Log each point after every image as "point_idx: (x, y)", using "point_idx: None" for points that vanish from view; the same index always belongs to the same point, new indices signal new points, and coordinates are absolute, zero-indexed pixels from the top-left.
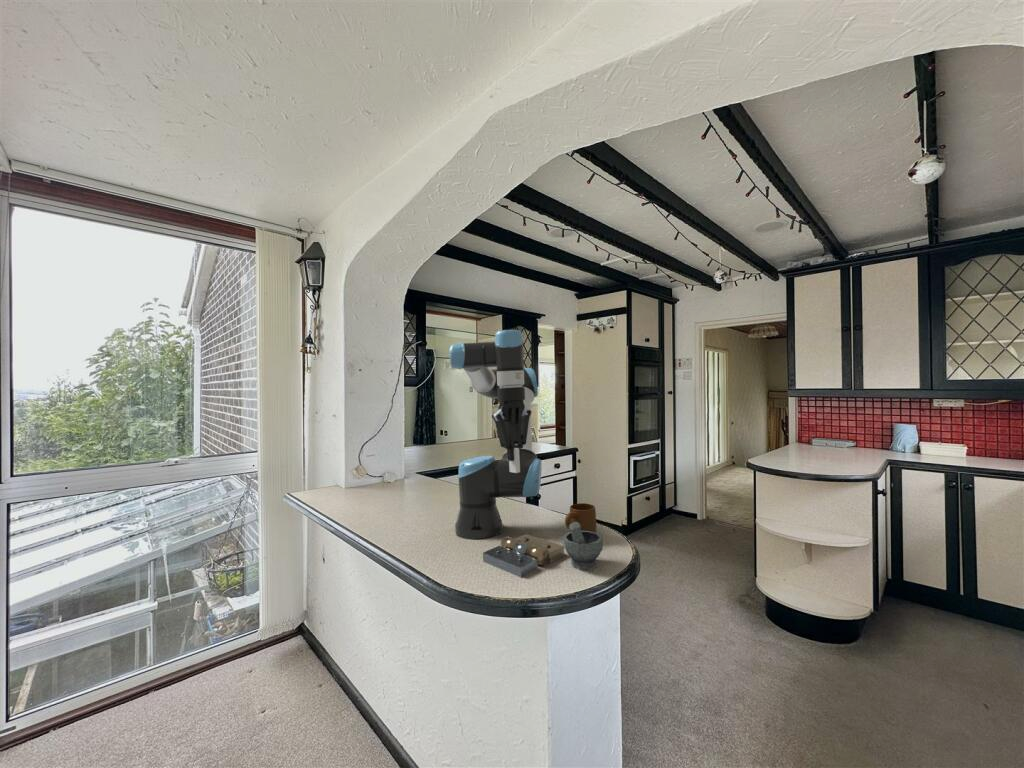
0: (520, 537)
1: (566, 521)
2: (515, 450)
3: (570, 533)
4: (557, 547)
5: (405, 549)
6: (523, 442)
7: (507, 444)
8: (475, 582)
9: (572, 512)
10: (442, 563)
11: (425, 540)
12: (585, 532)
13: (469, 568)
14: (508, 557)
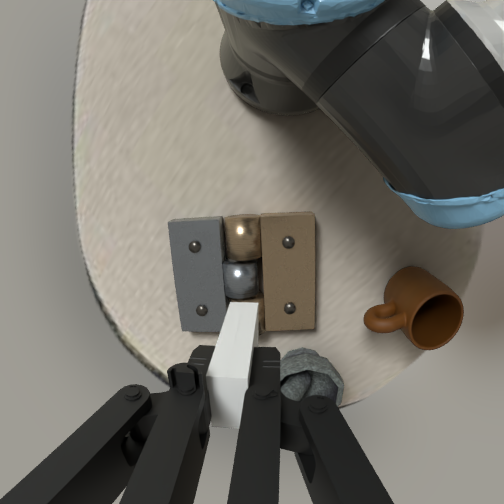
0: (288, 220)
1: (364, 323)
2: (216, 421)
3: (309, 369)
4: (299, 324)
5: (103, 51)
6: (299, 453)
7: (139, 444)
8: (120, 278)
9: (392, 330)
10: (113, 165)
11: (156, 28)
12: (335, 382)
13: (138, 225)
14: (192, 283)
